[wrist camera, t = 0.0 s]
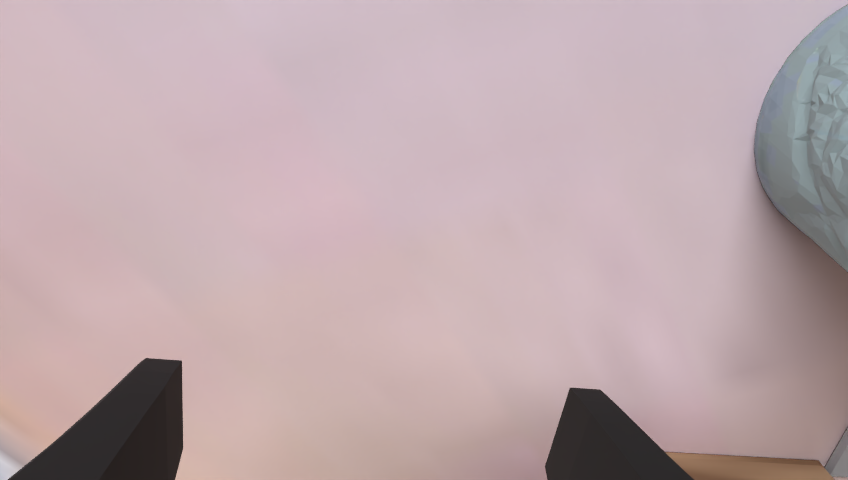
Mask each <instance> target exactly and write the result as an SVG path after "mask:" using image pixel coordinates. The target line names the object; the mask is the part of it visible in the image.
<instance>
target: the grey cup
mask: <svg viewBox="0 0 848 480" xmlns="http://www.w3.org/2000/svg"><path fill="white" fill-rule="evenodd" d="M754 154H755V161H756V168H757V173H758V176H759V179H760V181H761V184H762V187H763V188H764V190H765V192H766V193H767V195H768V197H769V198H770V200H771V201H772V203H773V204H774V206H775V207H776V208H777V210H778V211H779V212H780V213H781V214H782V215H784V216H785V217H786V218H787V219H788V220H789V221H790V222H791V223H793V224H794V225H795V226H796V227H797V228H798V229H799V230H800V231H801V232H803V233H804V234H805V235H807V236H808V237H810V238H811V239H812V240H813V241H814V242H815V243H816V244H817V245H818V246H819V247H820V248H822V249H823V250H824V251H825V252H826V253H827V254H828V255H829V256H830V257H831V258H832V259H833V260H834V261H836V262H837V263H838V264H839V265H840V266H841V267H842V268H844V269H845V270H846V271H847V272H848V5H846V6H844V7H843V8H841V9H839V10H838V11H836V12H835V13H833V14H832V15H831V16H829V17H828V18H827V19H825V20H824V21H822V22H821V23H820V24H819V25H818V26H817V27H816V28H815V29H814V30H813V31H812V32H811V33H810V34H809V35H807V36H806V37H805V38H804V39H803V40H802V41H801V43H800V44H799V45H798V46H797V47H796V49H795V50H794V51H793V52H792V53H791V55H790V56H789V57H788V58H787V60H786V61H785V63H784V65H783V66H782V68H781V69H780V71H779V72H778V74H777V75H776V77H775V79H774V80H773V82H772V84H771V86H770V88H769V90H768V92H767V94H766V97H765V99H764V102H763V105H762V108H761V111H760V115H759V118H758V121H757V127H756V134H755V146H754Z"/></svg>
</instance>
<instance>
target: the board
mask: <svg viewBox="0 0 848 480" xmlns="http://www.w3.org/2000/svg"><path fill="white" fill-rule="evenodd" d="M665 453H666V454H667V455H668V456H669V457H670V458H671V459H673V460H674V461H675V462H676V463H677V464H678V465H679V466H680V467H681V468H682V469H683V470H684V471H685V472H686V473H687V474H688V475H690V476H691V477H692V478H693V479H694V480H834V479H833V477H832V476H831V475H830V474H829V473H828V472H827V470H826V469H825V468H824V467H823V466H822V464H821V463H820V462H819V461H817V460H799V459H781V458H763V457H745V456H727V455H709V454H691V453H673V452H665Z"/></svg>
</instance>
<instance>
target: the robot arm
mask: <svg viewBox="0 0 848 480" xmlns="http://www.w3.org/2000/svg"><path fill="white" fill-rule="evenodd" d="M182 450H183V411H182V361H178V360H164V359H149V358H146V359H144V360H143V361H141V362H140V363H139V364H138V365H137V366H136V367H135V368H134V369H133V370H132V371H131V372H130V373H129V374H128V375H127V376H125V377H124V378H123V379H122V380H121V381H120V382H119V383H118V384H117V385H116V386H115V387H114V388H113V389H112V390H111V391H110V392H109V393H108V394H107V395H106V396H105V397H104V398H103V399H101V400H100V401H99V402H98V403H97V404H96V405H95V406H94V407H93V408H92V409H91V410H90V411H89V412H87V413H86V414H85V415H84V416H83V417H82V418H81V419H80V420H78V421H77V422H76V423H75V424H74V425H73V426H72V427H71V428H69V429H68V430H67V431H66V432H65V433H64V434H63V435H62V436H60V437H59V438H58V439H57V440H56V441H55V442H53V443H52V444H51V445H50V446H49V447H48V448H46V449H45V450H44V451H43V452H41V453H40V454H39V455H38V456H36V457H35V458H34V459H33V460H31V461H30V462H29V463H28V464H27V465H25V466H24V467H23V468H22V469H20V470H19V471H18V472H17V473H15V474H14V475H13V476H12V477H10V478H9V479H8V480H175V477H176V473H177V469H178V466H179V462H180V458H181V454H182ZM545 468H546V474H547V479H548V480H694V479H693V478H692V477H691V476H690V475H688V474H687V473H686V472H685V471H684V470H683V469H682V468H681V467H680V466H679V465H678V464H677V463H676V462H675V461H674V460H673V459H671V458H670V457H669V456H668V455H667V454H666V453H665V452H664V451H663V450H662V449H661V448H660V447H659V446H658V445H657V444H656V443H655V442H654V441H653V440H652V439H651V438H650V437H649V436H648V435H647V434H646V433H645V432H644V431H643V430H642V429H641V428H640V427H639V426H638V425H637V424H636V423H635V422H633V421H632V420H631V419H630V418H629V417H628V416H627V415H626V414H625V413H624V412H623V411H622V410H621V409H620V408H619V407H618V406H617V405H616V404H615V403H614V402H613V401H612V400H611V399H610V398H609V397H608V396H607V395H605V394H604V393H603V392H602V391H601V390H596V389H581V388H570V390H569V393H568V396H567V399H566V402H565V405H564V409H563V412H562V415H561V418H560V421H559V424H558V427H557V431H556V434H555V437H554V440H553V443H552V446H551V449H550V453H549V456H548V459H547V462H546V465H545Z"/></svg>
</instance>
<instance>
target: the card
mask: <svg viewBox="0 0 848 480" xmlns="http://www.w3.org/2000/svg"><path fill="white" fill-rule="evenodd" d="M825 469H826V470H827V472H828V473H829V474H830V475H831V476H832V477H848V428H847V430H846V431H845V433H844V435H843V437H842V438H841V440H840V442H839V444H838V445H837V447H836V449H835V451H834V452H833V454H832V456H831V457H830V459H829V461H828V463H827V464H826V466H825Z"/></svg>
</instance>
